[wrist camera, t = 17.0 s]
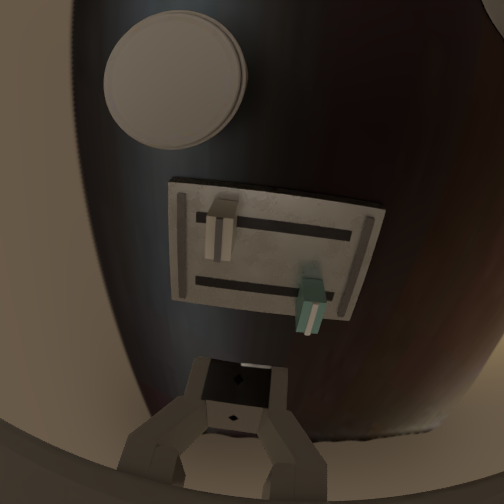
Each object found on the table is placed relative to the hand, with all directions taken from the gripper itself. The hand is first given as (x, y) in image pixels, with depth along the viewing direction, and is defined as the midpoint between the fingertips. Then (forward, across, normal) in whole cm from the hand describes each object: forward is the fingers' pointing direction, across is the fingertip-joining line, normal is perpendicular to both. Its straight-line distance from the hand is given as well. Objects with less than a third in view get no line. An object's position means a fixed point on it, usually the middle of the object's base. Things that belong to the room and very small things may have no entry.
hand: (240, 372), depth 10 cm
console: (+24, -1, +10) cm, 26 cm away
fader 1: (+23, +4, +6) cm, 24 cm away
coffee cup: (+25, +7, -8) cm, 27 cm away
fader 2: (+23, -6, +15) cm, 28 cm away
